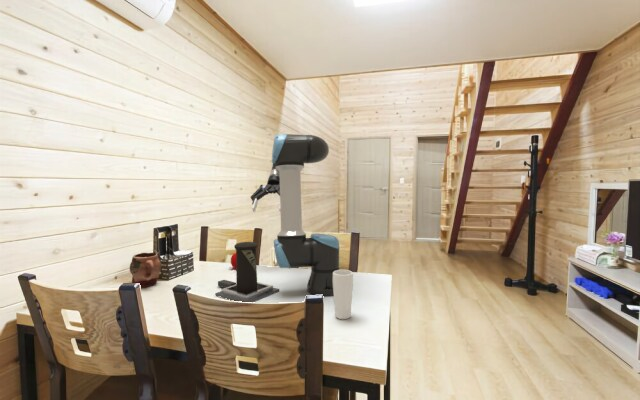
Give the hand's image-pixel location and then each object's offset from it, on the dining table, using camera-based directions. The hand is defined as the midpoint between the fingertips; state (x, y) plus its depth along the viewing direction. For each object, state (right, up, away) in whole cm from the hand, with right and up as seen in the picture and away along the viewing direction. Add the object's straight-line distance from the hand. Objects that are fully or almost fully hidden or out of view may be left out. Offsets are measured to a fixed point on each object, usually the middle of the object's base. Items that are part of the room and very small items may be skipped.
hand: (266, 210), depth 157 cm
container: (-4, -32, -26) cm, 42 cm away
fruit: (-17, -31, +14) cm, 38 cm away
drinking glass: (+34, -34, -50) cm, 69 cm away
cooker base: (-7, -33, -24) cm, 41 cm away
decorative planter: (-51, -33, -14) cm, 63 cm away
